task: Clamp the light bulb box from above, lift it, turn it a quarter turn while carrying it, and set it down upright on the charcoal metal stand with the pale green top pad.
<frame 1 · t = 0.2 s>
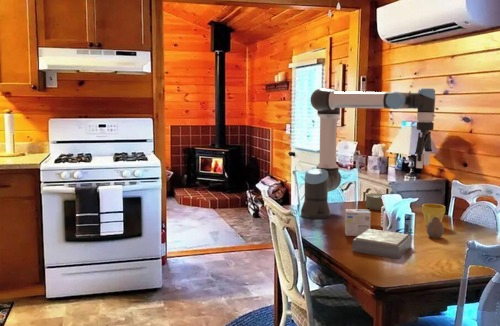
hand: (422, 166, 234), 28 cm above the table, tool pointing down, fingers open, 13 cm apart
plant pot: (432, 226, 233), on the table
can: (376, 208, 273), on the table
stand: (382, 249, 196), on the table
light bulb box: (357, 234, 218), on the table
gray brown egg: (434, 237, 214), on the table
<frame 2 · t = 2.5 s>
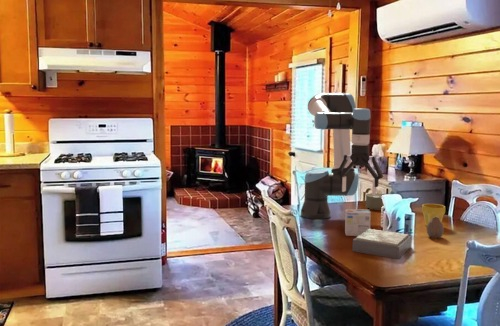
hand: (358, 192, 215), 19 cm above the table, tool pointing down, fingers open, 13 cm apart
nothing on the table moved.
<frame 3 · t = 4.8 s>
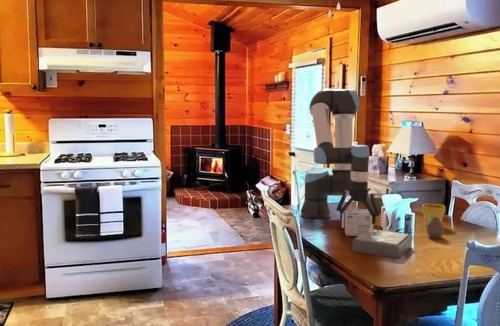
hand: (357, 228, 217), 2 cm above the table, tool pointing down, fingers closed on light bulb box, 12 cm apart
light bulb box: (357, 234, 218), on the table, touching gripper
everything else where it was.
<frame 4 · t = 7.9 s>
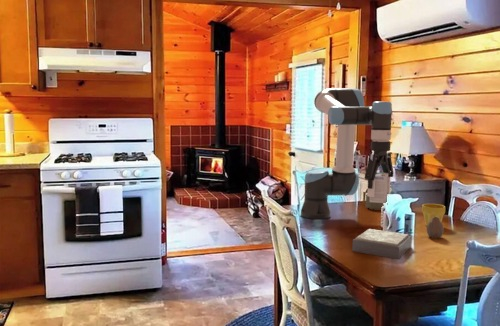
hand: (378, 194, 197), 21 cm above the table, tool pointing down, fingers closed on light bulb box, 12 cm apart
light bulb box: (378, 201, 198), point 19 cm above the table, touching gripper
everything else where it was.
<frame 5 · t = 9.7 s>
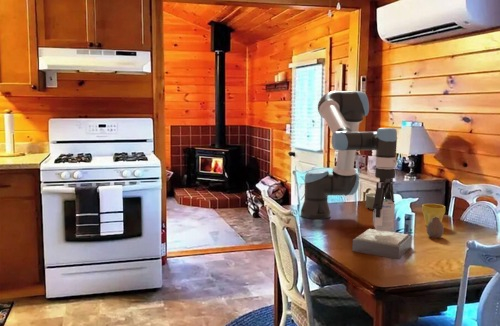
hand: (383, 222, 194), 11 cm above the table, tool pointing down, fingers closed on light bulb box, 12 cm apart
light bulb box: (383, 228, 195), point 8 cm above the table, touching gripper
everything else where it was.
when the fingers open (9 cm above the table, at t = 11.1 s): light bulb box drops 1 cm, resting on stand.
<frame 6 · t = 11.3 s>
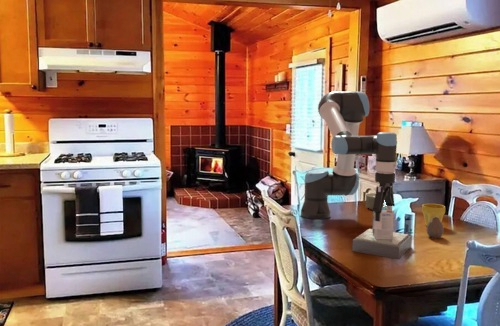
hand: (383, 225, 195), 10 cm above the table, tool pointing down, fingers open, 13 cm apart
light bulb box: (382, 236, 195), point 5 cm above the table, touching stand
everything else where it was.
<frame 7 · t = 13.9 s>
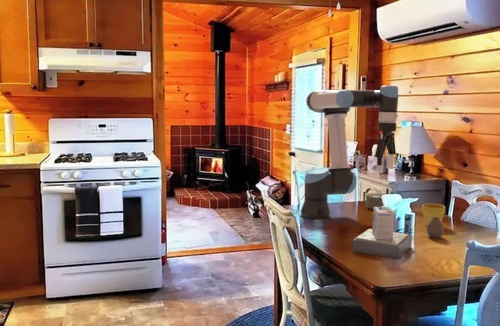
hand: (384, 170, 215), 28 cm above the table, tool pointing down, fingers open, 13 cm apart
nothing on the table moved.
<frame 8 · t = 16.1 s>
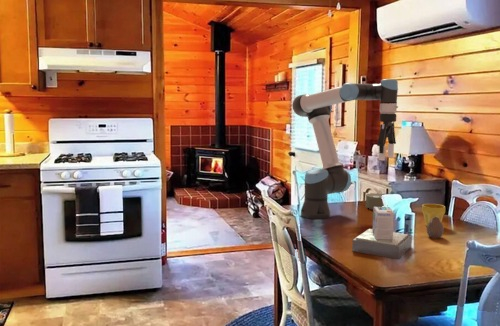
hand: (386, 158, 230), 32 cm above the table, tool pointing down, fingers open, 13 cm apart
nothing on the table moved.
at the end: light bulb box inside the target area on the stand (0.1 cm from its centre), point 5.2 cm above the stand's base; light bulb box tilted 0°; the gripper is holding nothing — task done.
